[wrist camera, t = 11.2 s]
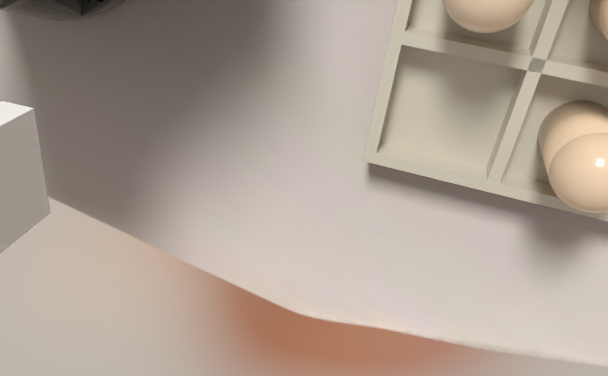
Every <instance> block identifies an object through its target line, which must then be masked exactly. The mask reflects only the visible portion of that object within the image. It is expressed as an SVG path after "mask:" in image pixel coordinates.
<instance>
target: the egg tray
mask: <svg viewBox="0 0 608 376" xmlns="http://www.w3.org/2000/svg"><path fill="white" fill-rule="evenodd" d="M589 3H590V0H534V2H533V4H532V6H531V7H530V9H529V10H528V11H527V13H526V14H525V15H524V16H523V17H522V18H521V19H520V20H519V21H517V22H516V23H515V24H513V25H512V26H510V27H508V28H506V29H503V30H501V31H497V32H492V33H477V32H473V31H469V30H467V29H465V28H463V27H461V26H460V25H458V24H457V23H456V22H455V21H454V20H453V19H452V18H451V17H450V15H449V14H448V12H447V10H446V8H445V6H444V3H443V0H398V2H397V6H396V11H395V16H394V20H393V25H392V29H391V34H390V38H389V43H388V47H387V52H386V56H385V61H384V65H383V70H382V75H381V79H380V84H379V88H378V93H377V97H376V102H375V106H374V111H373V115H372V120H371V125H370V129H369V134H368V138H367V143H366V147H365V152H364V156H363V161H365V162H369V163H373V164H377V165H381V166H385V167H389V168H393V169H397V170H401V171H405V172H409V173H413V174H417V175H421V176H425V177H429V178H433V179H437V180H441V181H445V182H450V183H454V184H458V185H462V186H466V187H470V188H474V189H478V190H482V191H486V192H490V193H494V194H498V195H502V196H506V197H510V198H514V199H518V200H522V201H526V202H530V203H534V204H538V205H542V206H546V207H551V208H555V209H559V210H563V211H567V212H571V213H575V214H579V215H583V216H587V217H591V218H595V219H599V220H603V221H607V222H608V212H603V213H588V212H582V211H579V210H576V209H574V208H572V207H570V206H568V205H567V204H565V203H564V202H563V201H561V199H560V198H559V197H558V196H557V195H556V194H555V192H554V191H553V189H552V186H551V184H550V181H549V177H548V174H547V171H546V167H545V164H544V161H543V158H542V154H541V151H540V148H539V144H538V131H539V128H540V125H541V123H542V121H543V120H544V118H545V117H546V116H547V115H548V114H549V113H550V112H551V111H552V110H554V109H555V108H557V107H558V106H560V105H562V104H565V103H568V102H571V101H578V100H587V101H592V102H596V103H598V104H601V105H602V106H604V107H606V108H607V109H608V40H607V39H606V38H605V37H604V36H603V35H602V34H601V33H599V32H598V30H597V29H596V28H595V27H594V25H593V23H592V21H591V18H590V13H589Z"/></svg>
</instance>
